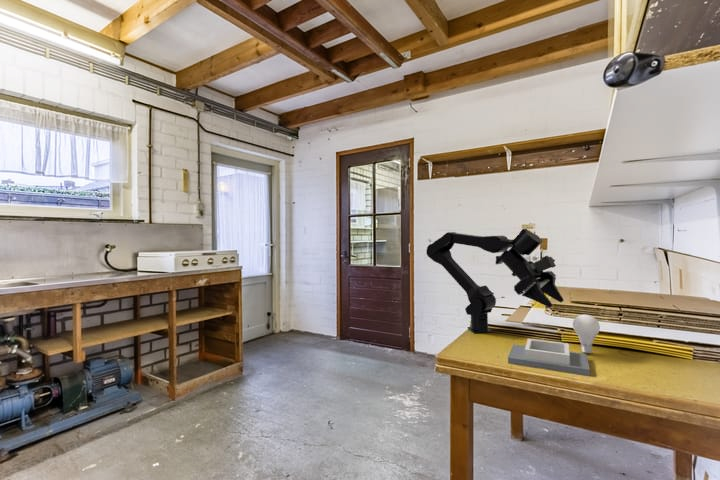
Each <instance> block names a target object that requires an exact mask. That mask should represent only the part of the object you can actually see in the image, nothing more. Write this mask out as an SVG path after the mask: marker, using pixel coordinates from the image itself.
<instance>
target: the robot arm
mask: <svg viewBox="0 0 720 480" xmlns="http://www.w3.org/2000/svg"><path fill="white" fill-rule="evenodd" d="M542 243H543V240H542V239H541V237H540V236H538V234H535V233H533V232H532V231H530V230H528V229H527V228H523V229H521V231H520V232H519V233H518V234H517V235H516V237H514V239H509V238H508V237H507V236H506V235H489V236H488V235H486V236H485V235H484V236H481V235H474V234H466V233H459V232H455V231H449V232H446V233H445V234H444V235H442V236H441V237H439V238H438V239H436V240H435V241H434V242H432V243H430V244H428V246H427V248H426V255H427V257H428V258H429V259H431V260H432V261H433V262H435V263H437V264H438V265H441V266H442V267H443V268H444V270H446V271H447V273H448V274H449V275H450V276H451V278H453V279H454V281H455V282H456V283H457V284H458V285H459V286H460V287H461V289H463V291H464V292H465V293H466V295H467V299H468V302H469V304H468V305H467V306H466V307H465V313H466V315H469V316H470V326H467V330H469V331H470V332H471V333H473V334H484V333H488V334H489V333H493V331H492V329H490V328H489V323H488V322H489V321H488V320H489V317H488V314H490V313H492V310H493V308H495V306H496V303H497V298H496V296H495V295H494V294H495V292H492V291H491V290H490V289H489V287H488V286H487V285H481V286H480V285H478V284H477V282H475V281H474V279H473V278H471V276H470V275H469V274H468V273H467V272H466V271H465V270H464V269H463V268H462V267H461V265H459V263H457V262H456V260H455V259H454V258H453V257H452V253H451V251H450V250H451V249H452V248H453V247H454V245H455V244H458V245H464V246H470V247H477V248H480V249H482V250H483V251H486V252H488V253H491V254H497V253H498V254H499V253H501V254H500V255H496V256H495V265H501V264H504V265H505V266H506V267H507V268H508V269H509V270H510V271H511V272H512V273H511V276H513V277H517V278H518V280H519V281H518V282H517V283H516V284H515V285H514V286H513V291H514V292H515V293H516V294H517V295H518V296H522V297H525V298H528V299H530V300H533V301H535V302H537V303H538V304H541V305H543V306H545V307H548V308H552V306H553V303H552V302H551V301H550V299H549V298H548V297H550V298H552V299H554V300H556V301H557V302H559V303H563V302H564V298H563V296H562V294H561V293H560V291H559V289H558V288H557V287H558V286H557V285H556V280H557V277H556V276H557V275H556V274H555V273H554V272H553V271H552V270H548V269H550V268H555V267H556V266H557V265H556V264H555V261H556V259H554V258H553V256H549V255H545V256H541V257H540V259H539V260H537V261H532V260H527V259H526V258H525V257H524V256H525V255H526V256H530V255H531V254H532V253H533V252H534V251H535V250H537V248H538V247H540V246H541V244H542ZM546 270H547V271H546ZM547 296H548V297H547Z"/></svg>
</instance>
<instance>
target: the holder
mask: <svg viewBox="0 0 720 480" xmlns="http://www.w3.org/2000/svg"><path fill="white" fill-rule="evenodd" d="M587 355H588V354H585V353H583V352H576V351H575V352H574V351H570V346H569V343H567V342H560V341H559V342H558V341H549V340H544V339H543V340H542V339H532V338H527V341H526V344H525V345H523V344H522V345H520V344H512V346H511V348H510V351H509V354H508V357H507V363H508V364H510V365H511V364H512V365H518V366H523V367H528V368H529V367H530V368H537V369H545V370H548V371H549V370H550V371H556V372H560V373H561V372H562V373H568V374H573V375H575V374H576V375H582V376H587V377H588V376H589V377H590V375H591V372H590V365H589V360H588V356H587Z"/></svg>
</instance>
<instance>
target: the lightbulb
mask: <svg viewBox="0 0 720 480" xmlns="http://www.w3.org/2000/svg"><path fill="white" fill-rule="evenodd" d="M572 328H573V331H575V333H576V335H577V336H578V340H579V342H580V345H581V346H580V351H581V353H584V354H586V355H589V354H592V353H593V343H594V340H595V338H596V336H597V335H598V334H599V332H600V328H601V325H600V323H599V320H597V319H596V317H594V316H592V315H590V314H579V315H577V316H575V318H574V319H573V321H572Z"/></svg>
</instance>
